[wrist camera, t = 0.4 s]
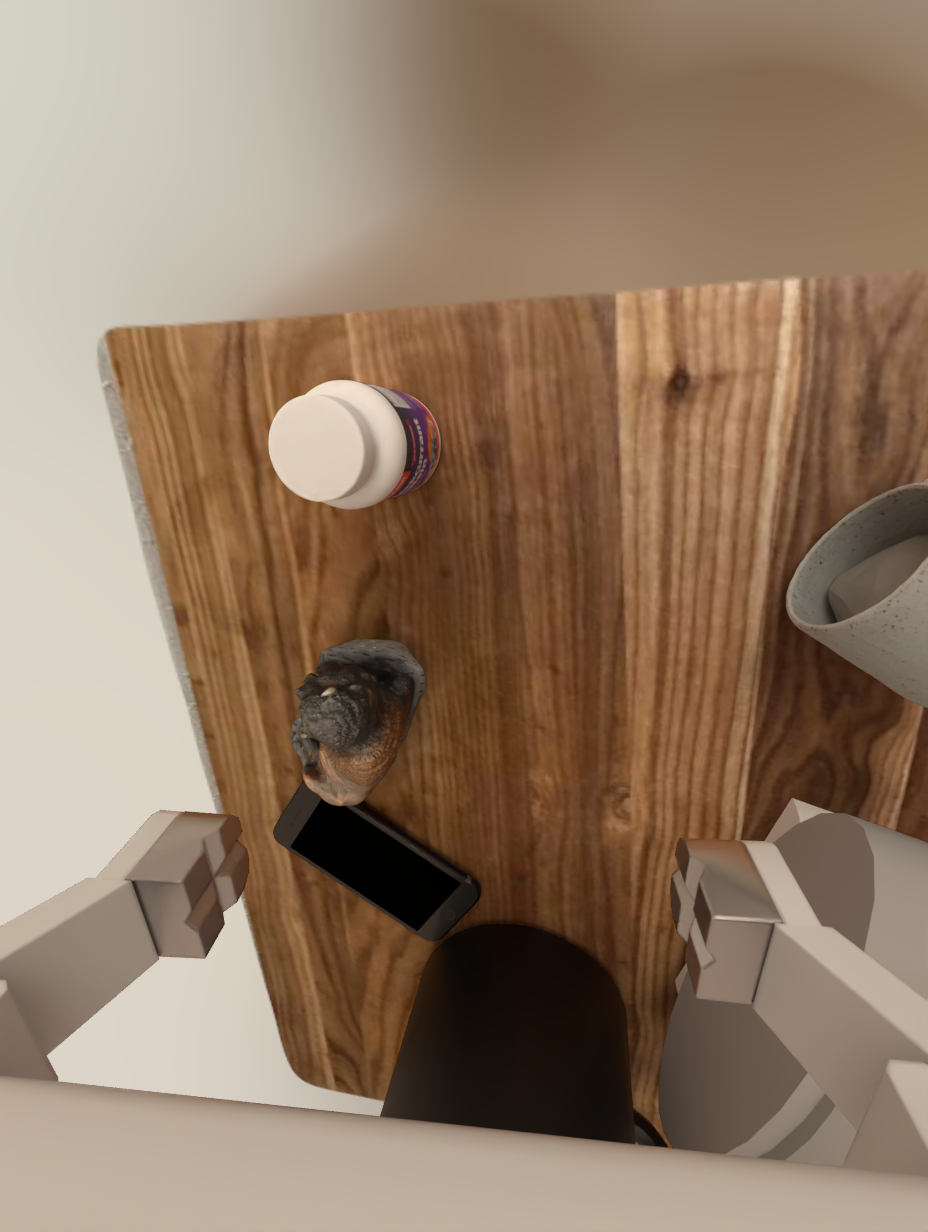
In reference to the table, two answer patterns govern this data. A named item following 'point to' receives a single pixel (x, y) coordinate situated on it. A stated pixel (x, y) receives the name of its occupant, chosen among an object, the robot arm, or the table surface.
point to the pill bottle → (354, 444)
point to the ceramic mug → (872, 590)
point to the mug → (518, 1041)
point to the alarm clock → (744, 1044)
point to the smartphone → (377, 863)
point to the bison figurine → (355, 716)
